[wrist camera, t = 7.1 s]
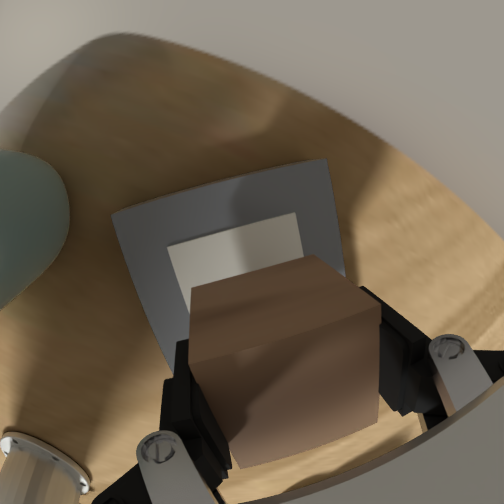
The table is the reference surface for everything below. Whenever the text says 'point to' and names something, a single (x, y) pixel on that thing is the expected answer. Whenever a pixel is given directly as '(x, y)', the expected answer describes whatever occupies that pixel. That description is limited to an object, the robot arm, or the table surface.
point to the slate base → (224, 237)
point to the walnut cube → (285, 358)
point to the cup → (29, 220)
